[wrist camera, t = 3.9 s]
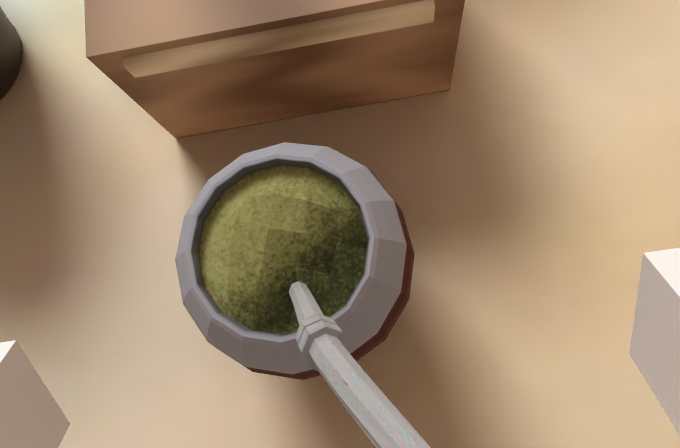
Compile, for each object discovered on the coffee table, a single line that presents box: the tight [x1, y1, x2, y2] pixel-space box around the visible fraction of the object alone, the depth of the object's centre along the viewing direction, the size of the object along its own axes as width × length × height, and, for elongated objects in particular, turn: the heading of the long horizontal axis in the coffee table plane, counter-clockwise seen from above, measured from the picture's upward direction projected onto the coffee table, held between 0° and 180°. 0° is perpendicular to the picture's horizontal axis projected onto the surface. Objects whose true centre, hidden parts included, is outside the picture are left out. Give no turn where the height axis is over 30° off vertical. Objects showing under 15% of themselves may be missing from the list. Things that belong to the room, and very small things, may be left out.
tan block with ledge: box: [84, 0, 465, 138], centre depth 21 cm, size 12×6×7 cm, turn 98°
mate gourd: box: [175, 142, 431, 448], centre depth 15 cm, size 8×8×15 cm
